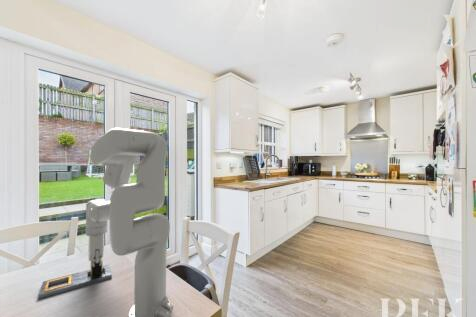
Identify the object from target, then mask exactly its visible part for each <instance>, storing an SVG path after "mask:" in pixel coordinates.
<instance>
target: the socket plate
mask: <svg viewBox="0 0 476 317" xmlns="http://www.w3.org/2000/svg"><path fill="white" fill-rule="evenodd" d="M110 266H111V265H110V264H106V265H103V272H104V273H103V274H102V275H100V276H97V277H93V278H91V277H89V276H91V268H90V269H87V270H83V271H79V272H75V273H72V274H68V275H65V276H61V277H56V278H51V279H48V280H45V281H43V282H42V284H41V287H40V290H39V293H38V300H42V299H45V298H48V297H49V298H50V297H52V296H55V295H59V294H62V293H66V292H69V291H72V290H76V289H79V288H82V287H86V286H89V285H93V284H97V283H101V282H103V281H107V280H111V279H113V277H112V270H111V267H110ZM66 282H68V283H66ZM63 283H66V284H63ZM58 284H63V285H59V286H55V287H52V288H50V287H51V286H54V285H58Z"/></svg>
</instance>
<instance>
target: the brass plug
mask: <svg viewBox="0 0 476 317" xmlns="http://www.w3.org/2000/svg"><path fill="white" fill-rule="evenodd" d="M103 260H104V259H103V258H101V264H102V274H101V275H103V274H104V273H103V266H104V264H103ZM95 262H96V260H95ZM92 267H93V260H91V261H90V269H91V275H90V278H93V277H92ZM98 276H100V275H98ZM94 277H97V276H94Z"/></svg>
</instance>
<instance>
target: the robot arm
mask: <svg viewBox="0 0 476 317" xmlns="http://www.w3.org/2000/svg"><path fill="white" fill-rule="evenodd" d="M89 152H90V153H89V157H90V161H91V163H92V164H93V165H94V166H98V167H100V166H101V167H105V166H106V167H105V170H104V174H103V176H102V181H103V183H104V184H105V185H106V186H108V187H110V188H113V191H112V193H111V196H110V198H109V200H107V199H103V198H97V199H91V200H89V201H87V202H86V204H85V205H86V206H85V236H86V237H87V236H88V243H87V244H88V252H87V253H88V261H89V262H91V260H93V267H92V277H94V276H98V275H101V274H102V275H103V273H102V264H101V258H102V259H103V258H104V252H105V251H104V250H105V234H106V233H107V232H108V222H109V244H110V245H109V246H110V248H111V251H112V252H113V254H114V255H116V256H119V257H120V256H121V257H122V256H127V255H130V254H132V253H133V254H134V253H136V255H135V258H134V259H135V260H134V288H133V289H134V290H133V292H134V293H133V294H134V295H133V296H134V298H133V299H134V304H133V305H132V307H131V308H130V310H129V312H128V317H171V312H172V311H173V309H174V306H173V305H172V303H171V300H170V299H169V297H167V250H168V241H169V236H170V230H171V225H170V224H171V223H170V220H169V218H168V217H167V216H166V215H165V214H163V213H158V212H157V213H155V212H154V213H149V214H146V215H142V216H138V217H135V216H136V215H139V214H144V213H148V212H152V211H155V210H158V209H161V208H162V206H163V205H164V203H165V199H166V198H165V197H166V181H165V180H166V179H165V178H166V174H165V173H166V171H165V170H166V168H165V167H166V161H167V158H168V146H167V142H166V140H165V138H164V137H163V136H162V135H161V134H158V133H156V132H152V131H148V130H140V129H132V128H131V129H129V128H122V127H114V128H113V127H112V128H111V129H109V130H107V131H106V132H105V133H104V134H103V135H102V136H100V137H99V138H98V139H97V140H96V141H95V142H94V143H93V145H92V147H91V149H90V151H89ZM137 156H143V157H142V158H141V160H140V161H139V163H138V165H137V168H136V181H135V182H132V183H129V180H130V176H131V173H132V171H133V169H134V168H133V167H134V165H135V162H136V159H137ZM95 260H96V262H95Z"/></svg>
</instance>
